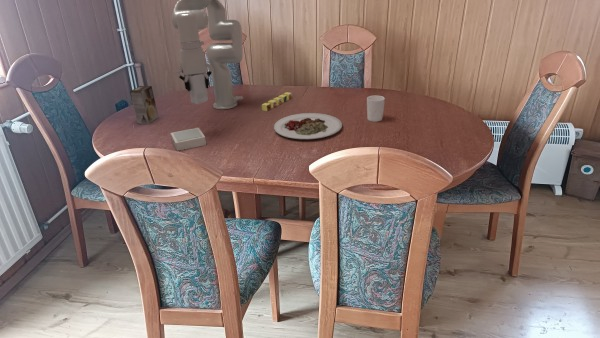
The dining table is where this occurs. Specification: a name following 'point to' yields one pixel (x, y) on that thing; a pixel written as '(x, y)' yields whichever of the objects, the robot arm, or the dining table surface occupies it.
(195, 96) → the skincare box
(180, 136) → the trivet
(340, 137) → the dining table surface
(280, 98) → the yellow segmented block row
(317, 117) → the plated food
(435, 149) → the dining table surface
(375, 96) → the white cup
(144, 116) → the coffee box
